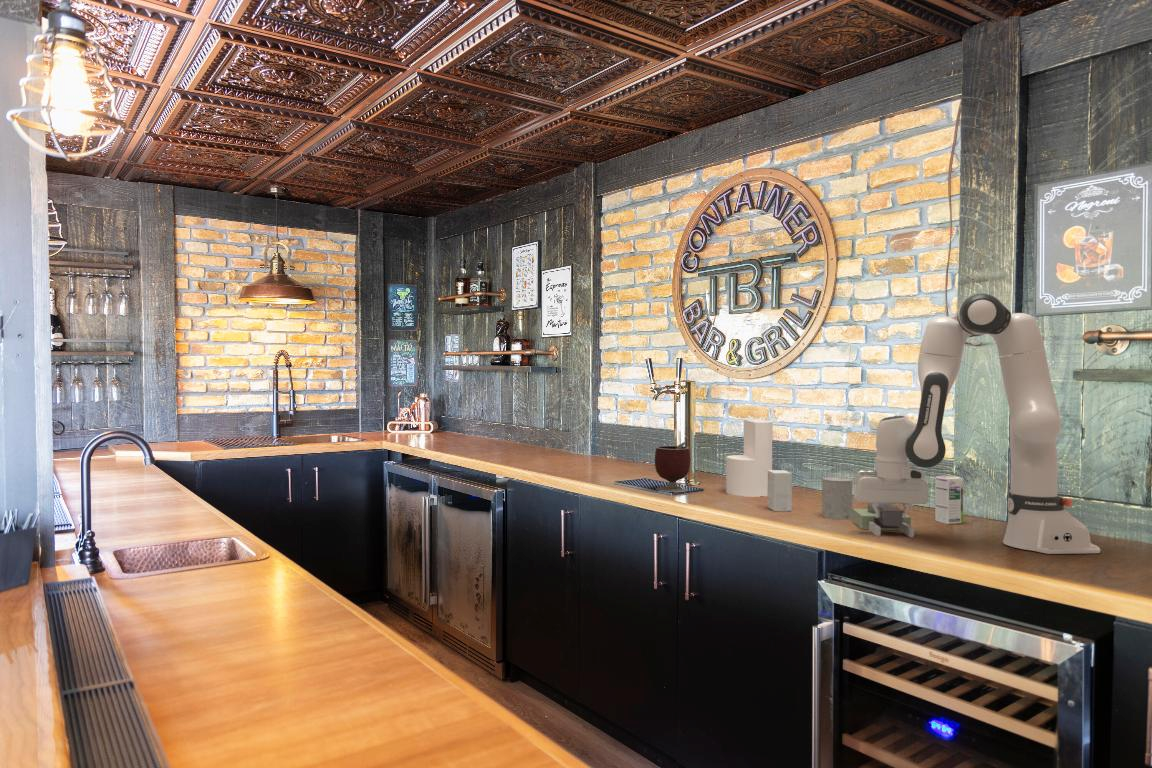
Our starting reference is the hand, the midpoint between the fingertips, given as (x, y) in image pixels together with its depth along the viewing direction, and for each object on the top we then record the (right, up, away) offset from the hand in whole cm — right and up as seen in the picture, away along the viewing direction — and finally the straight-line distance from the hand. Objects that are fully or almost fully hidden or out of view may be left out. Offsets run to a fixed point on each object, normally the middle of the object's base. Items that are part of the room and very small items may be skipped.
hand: (890, 518), depth 221 cm
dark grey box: (0, -2, 0) cm, 2 cm away
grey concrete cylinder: (-7, -4, +26) cm, 27 cm away
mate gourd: (-54, -3, +76) cm, 93 cm away
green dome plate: (+1, -4, +6) cm, 8 cm away
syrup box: (+25, -5, +17) cm, 31 cm away
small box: (-22, -4, +38) cm, 44 cm away
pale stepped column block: (-25, -3, +72) cm, 76 cm away
